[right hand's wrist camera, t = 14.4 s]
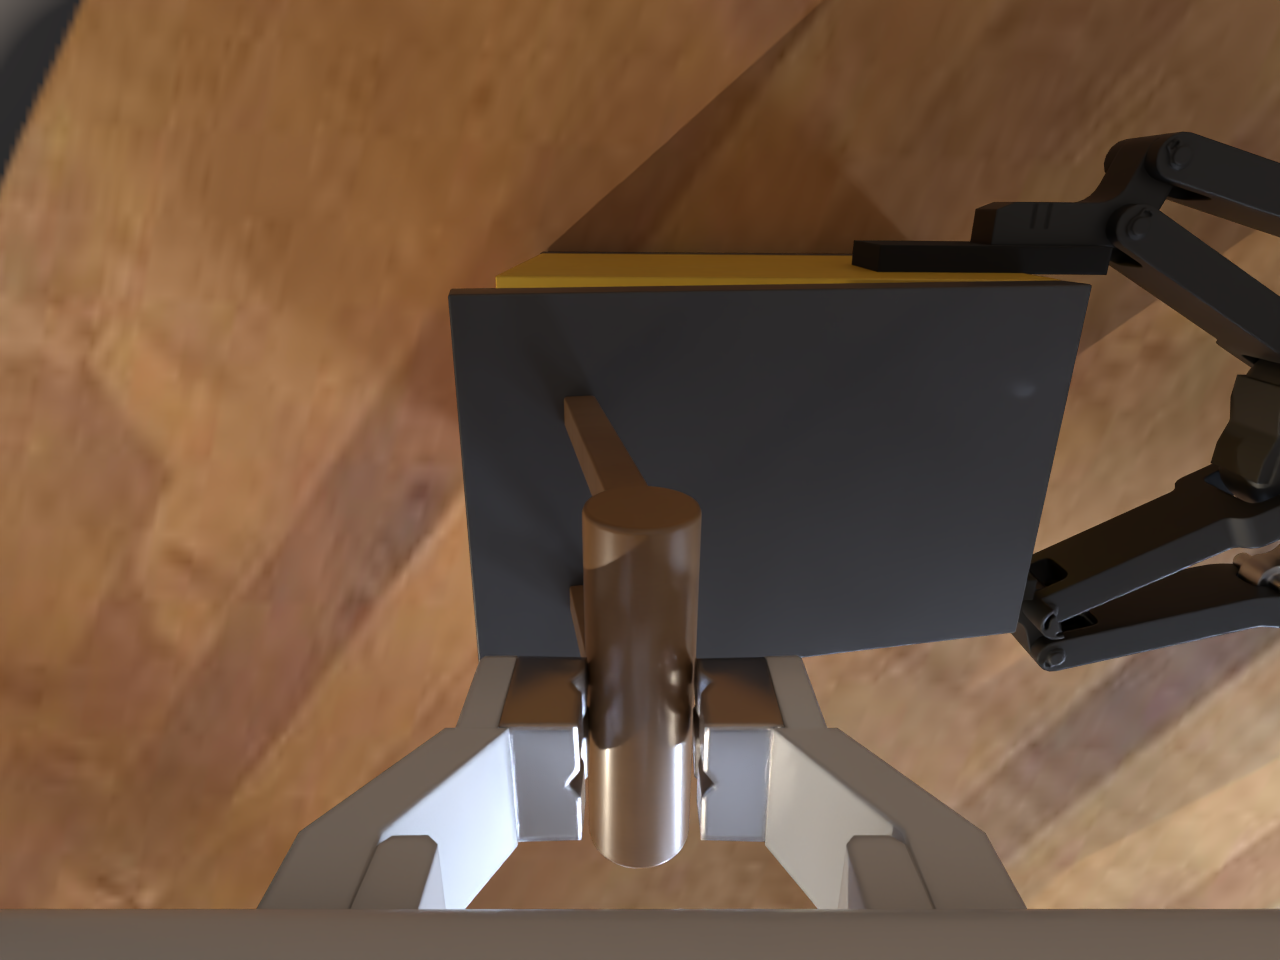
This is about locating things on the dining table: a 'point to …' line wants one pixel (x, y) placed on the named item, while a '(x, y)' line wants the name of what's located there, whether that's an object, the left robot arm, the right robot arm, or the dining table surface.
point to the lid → (746, 488)
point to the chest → (712, 270)
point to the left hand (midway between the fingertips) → (845, 425)
